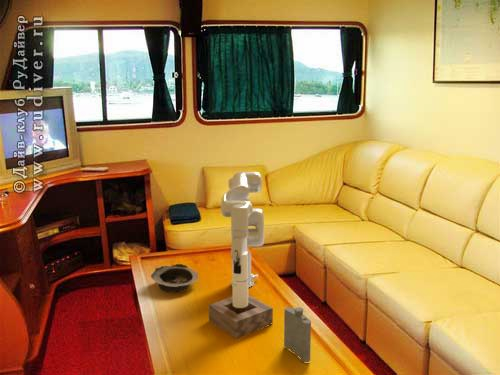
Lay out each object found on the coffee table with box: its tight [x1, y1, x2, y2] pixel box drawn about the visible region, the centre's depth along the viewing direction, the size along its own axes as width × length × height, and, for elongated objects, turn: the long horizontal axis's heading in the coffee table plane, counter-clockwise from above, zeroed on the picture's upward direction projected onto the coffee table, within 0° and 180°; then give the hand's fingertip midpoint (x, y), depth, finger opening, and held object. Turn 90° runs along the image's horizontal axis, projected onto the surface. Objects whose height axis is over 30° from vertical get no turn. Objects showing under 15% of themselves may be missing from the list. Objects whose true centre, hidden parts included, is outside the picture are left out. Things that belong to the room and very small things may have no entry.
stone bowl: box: [150, 263, 199, 293], centre depth 270 cm, size 25×25×9 cm
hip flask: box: [283, 306, 312, 363], centre depth 203 cm, size 16×4×20 cm, turn 30°
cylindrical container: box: [231, 251, 249, 308], centre depth 226 cm, size 7×7×25 cm
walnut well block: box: [208, 294, 274, 339], centre depth 230 cm, size 21×21×8 cm
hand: (240, 269), depth 226 cm, fingers closed on cylindrical container, 7 cm apart
